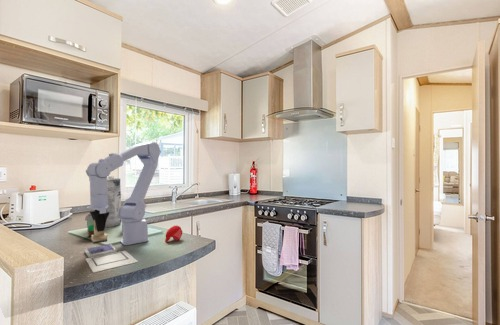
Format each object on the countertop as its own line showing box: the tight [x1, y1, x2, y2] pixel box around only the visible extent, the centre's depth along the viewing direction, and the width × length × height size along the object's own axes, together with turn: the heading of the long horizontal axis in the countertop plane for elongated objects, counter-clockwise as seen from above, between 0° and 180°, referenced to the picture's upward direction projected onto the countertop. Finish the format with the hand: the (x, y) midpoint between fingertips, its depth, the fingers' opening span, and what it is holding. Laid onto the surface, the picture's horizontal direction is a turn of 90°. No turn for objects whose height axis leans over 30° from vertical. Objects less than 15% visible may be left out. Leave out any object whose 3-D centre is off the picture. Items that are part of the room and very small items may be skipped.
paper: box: [85, 250, 138, 273], centre depth 93 cm, size 13×16×1 cm
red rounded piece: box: [164, 225, 183, 243], centre depth 116 cm, size 8×6×6 cm
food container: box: [84, 213, 94, 238], centre depth 127 cm, size 12×6×10 cm, turn 40°
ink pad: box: [84, 243, 117, 258], centre depth 102 cm, size 9×9×1 cm
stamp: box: [90, 220, 108, 245], centre depth 102 cm, size 4×4×8 cm
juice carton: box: [105, 175, 122, 228], centre depth 150 cm, size 9×10×27 cm
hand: (99, 230), depth 102 cm, fingers closed on stamp, 3 cm apart
